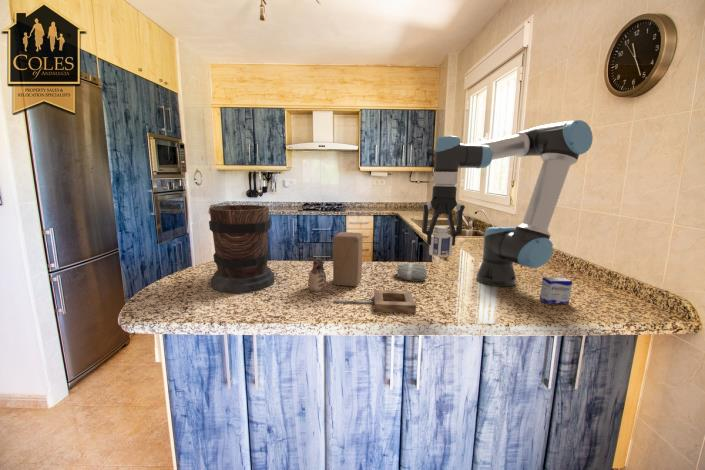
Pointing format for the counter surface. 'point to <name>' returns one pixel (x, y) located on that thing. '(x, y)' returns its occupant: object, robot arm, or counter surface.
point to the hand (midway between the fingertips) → (439, 254)
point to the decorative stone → (411, 271)
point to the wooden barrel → (241, 248)
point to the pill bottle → (441, 242)
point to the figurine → (317, 277)
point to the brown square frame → (389, 306)
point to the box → (555, 290)
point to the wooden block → (347, 259)
